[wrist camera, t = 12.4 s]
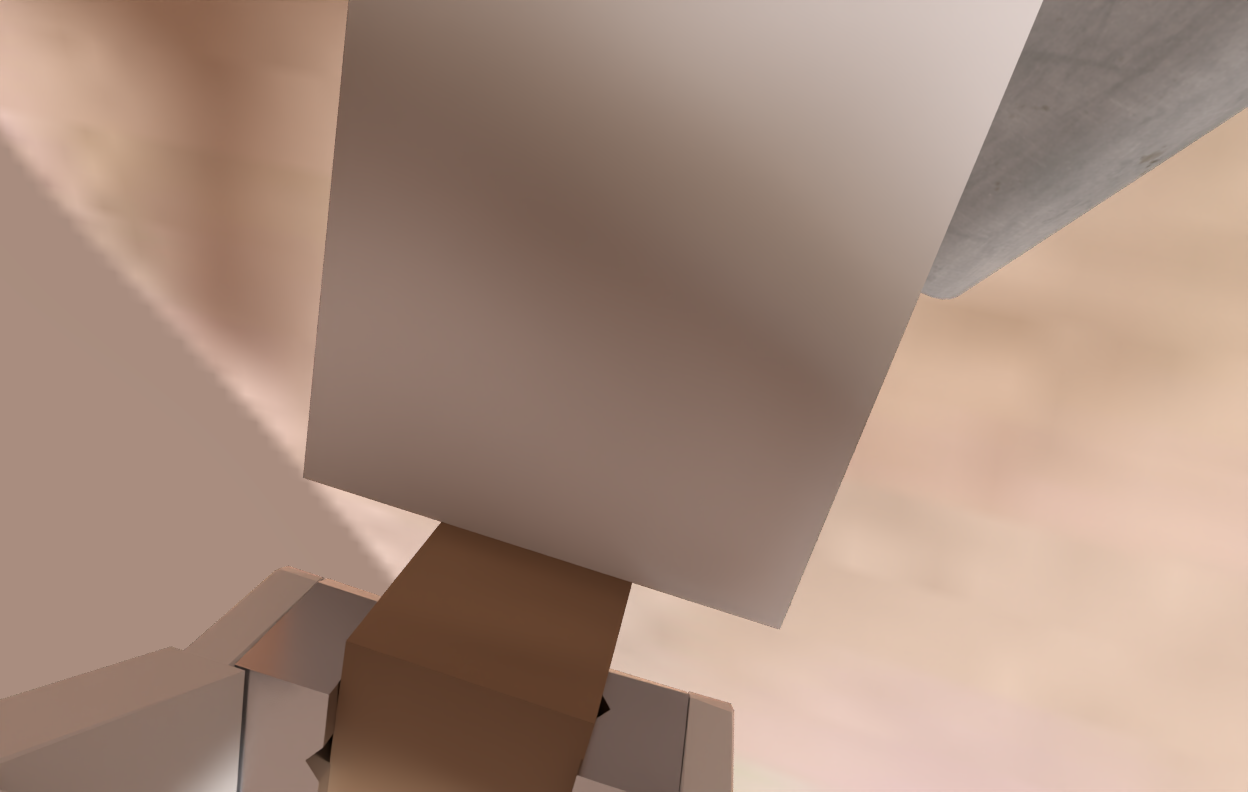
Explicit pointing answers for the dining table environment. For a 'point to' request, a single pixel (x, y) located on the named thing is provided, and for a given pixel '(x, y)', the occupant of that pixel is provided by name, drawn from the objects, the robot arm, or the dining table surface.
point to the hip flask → (1091, 120)
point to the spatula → (612, 328)
